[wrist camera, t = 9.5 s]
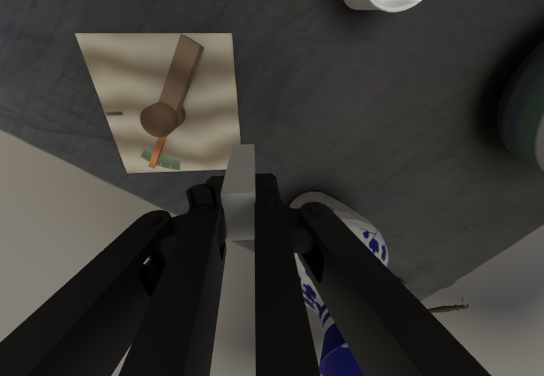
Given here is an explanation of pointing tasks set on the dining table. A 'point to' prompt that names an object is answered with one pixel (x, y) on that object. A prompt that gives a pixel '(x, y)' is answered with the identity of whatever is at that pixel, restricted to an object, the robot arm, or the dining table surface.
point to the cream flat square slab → (147, 90)
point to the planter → (524, 111)
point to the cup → (381, 4)
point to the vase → (335, 354)
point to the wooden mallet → (172, 95)
